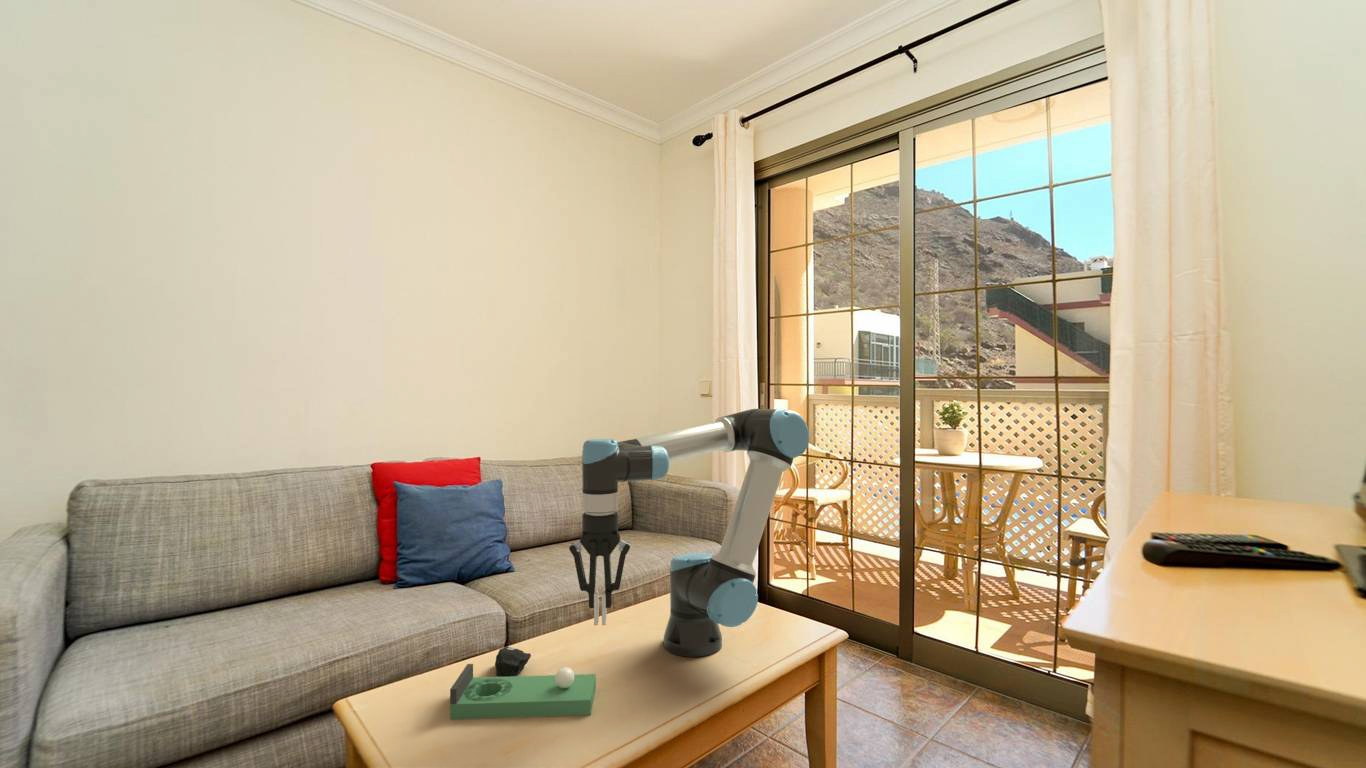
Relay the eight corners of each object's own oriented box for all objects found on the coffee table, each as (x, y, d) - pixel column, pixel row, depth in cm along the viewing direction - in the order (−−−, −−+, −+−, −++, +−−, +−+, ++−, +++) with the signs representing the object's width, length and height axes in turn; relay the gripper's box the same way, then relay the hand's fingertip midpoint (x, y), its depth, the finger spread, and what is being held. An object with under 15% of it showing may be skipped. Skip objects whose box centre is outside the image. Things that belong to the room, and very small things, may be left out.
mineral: (476, 679, 134) (477, 653, 134) (502, 662, 142) (503, 638, 143) (513, 688, 130) (513, 661, 130) (537, 670, 139) (538, 645, 139)
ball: (575, 682, 126) (575, 663, 126) (573, 691, 122) (573, 672, 122) (556, 682, 126) (556, 664, 126) (553, 692, 122) (553, 673, 122)
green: (595, 687, 130) (595, 660, 130) (590, 714, 119) (590, 685, 119) (467, 691, 128) (467, 663, 129) (450, 719, 117) (450, 689, 118)
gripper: (633, 507, 129) (633, 615, 129) (569, 508, 128) (569, 616, 128) (632, 514, 122) (632, 629, 121) (564, 515, 121) (564, 630, 121)
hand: (600, 622), depth 125 cm, fingers closed
